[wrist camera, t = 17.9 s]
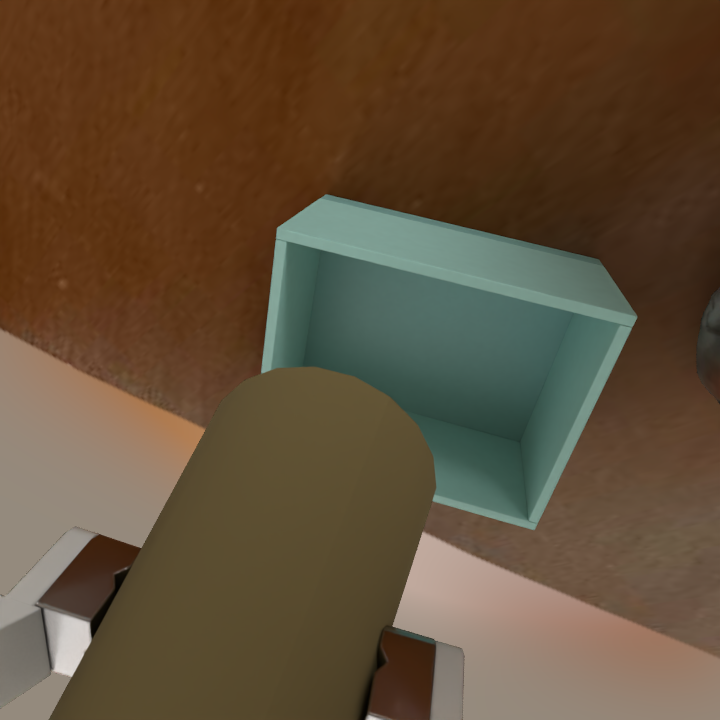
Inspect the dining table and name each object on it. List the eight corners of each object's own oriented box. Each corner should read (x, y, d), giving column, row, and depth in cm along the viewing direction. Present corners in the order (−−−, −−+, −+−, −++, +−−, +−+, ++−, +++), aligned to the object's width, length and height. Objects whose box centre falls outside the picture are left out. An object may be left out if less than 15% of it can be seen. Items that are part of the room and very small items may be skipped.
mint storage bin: (276, 227, 22) (252, 449, 28) (638, 316, 21) (534, 531, 27) (325, 193, 29) (297, 377, 35) (599, 259, 28) (523, 438, 34)
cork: (299, 581, 16) (15, 1351, 6) (163, 428, 14) (-513, 1153, 5) (483, 515, 13) (483, 1625, 4) (343, 321, 12) (-302, 1411, 2)
